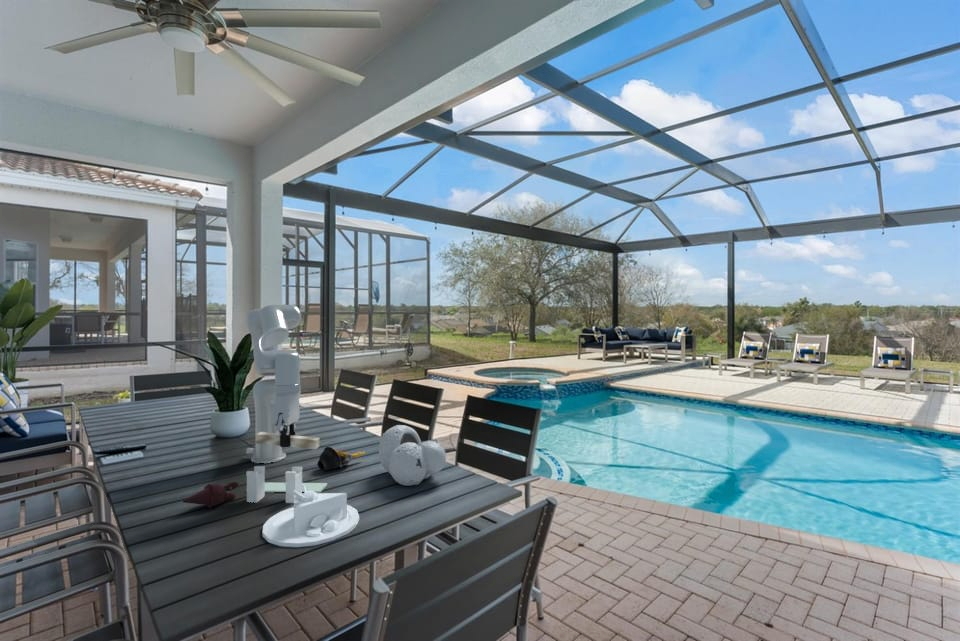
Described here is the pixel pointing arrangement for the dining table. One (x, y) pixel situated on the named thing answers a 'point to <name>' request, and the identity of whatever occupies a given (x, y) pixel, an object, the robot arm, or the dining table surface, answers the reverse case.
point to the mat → (309, 487)
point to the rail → (294, 440)
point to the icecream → (212, 495)
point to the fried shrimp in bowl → (335, 459)
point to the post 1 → (255, 484)
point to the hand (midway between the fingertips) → (287, 444)
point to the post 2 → (293, 483)
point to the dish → (311, 520)
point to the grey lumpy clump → (409, 455)
